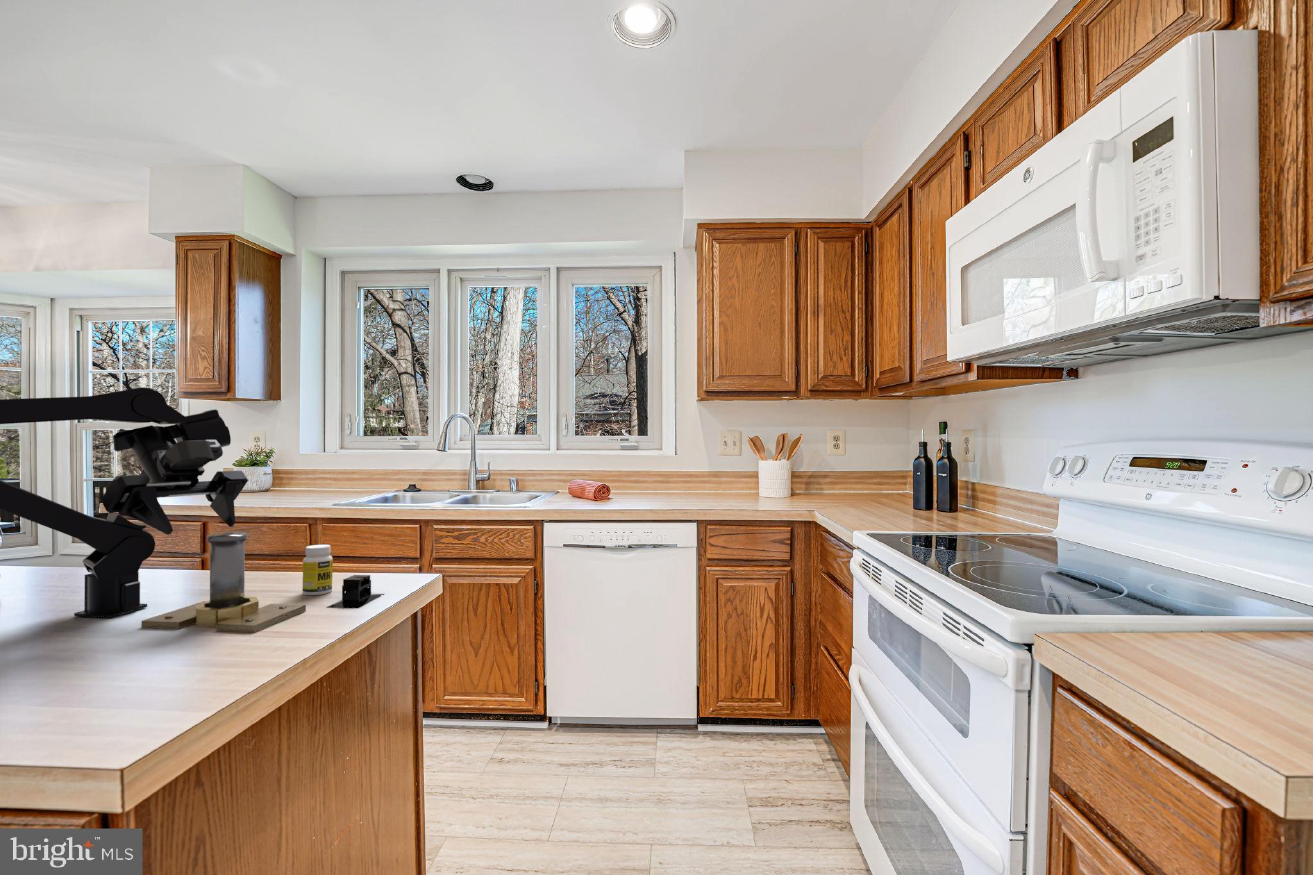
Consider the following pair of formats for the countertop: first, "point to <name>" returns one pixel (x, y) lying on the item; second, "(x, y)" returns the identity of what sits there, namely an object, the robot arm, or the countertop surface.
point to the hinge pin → (227, 569)
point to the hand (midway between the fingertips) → (203, 528)
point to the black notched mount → (356, 592)
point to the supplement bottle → (317, 570)
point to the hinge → (226, 616)
